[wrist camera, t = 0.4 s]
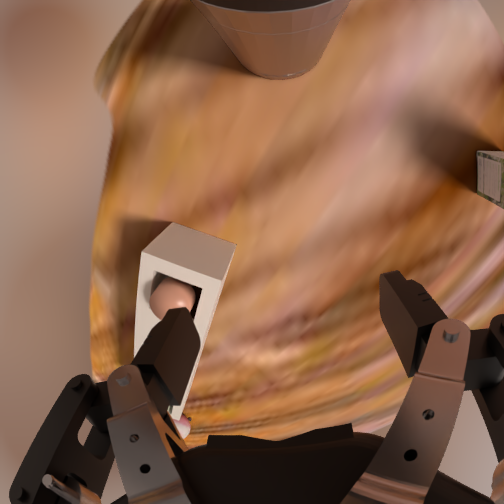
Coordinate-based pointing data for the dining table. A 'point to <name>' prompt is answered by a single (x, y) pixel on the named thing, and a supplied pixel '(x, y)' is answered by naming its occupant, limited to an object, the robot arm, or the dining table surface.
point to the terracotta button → (171, 296)
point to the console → (185, 269)
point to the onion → (183, 425)
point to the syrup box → (491, 176)
